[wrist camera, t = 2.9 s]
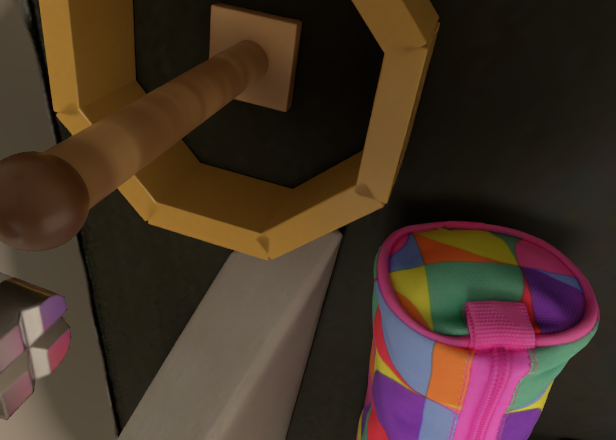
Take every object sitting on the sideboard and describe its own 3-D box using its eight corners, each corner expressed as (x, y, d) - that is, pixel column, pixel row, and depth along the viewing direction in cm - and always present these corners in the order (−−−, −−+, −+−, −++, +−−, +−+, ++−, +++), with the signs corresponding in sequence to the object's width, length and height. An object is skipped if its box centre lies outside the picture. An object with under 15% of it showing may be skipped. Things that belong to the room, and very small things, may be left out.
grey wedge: (156, 184, 23) (49, 511, 29) (260, 254, 20) (119, 597, 26) (323, 179, 36) (225, 406, 42) (399, 222, 33) (284, 457, 39)
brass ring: (95, -175, 22) (12, -190, 18) (476, -111, 19) (470, -114, 15) (118, 161, 30) (64, 198, 26) (382, 238, 27) (364, 291, 24)
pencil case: (501, 503, 35) (502, 667, 27) (360, 464, 37) (325, 606, 30) (592, 217, 23) (635, 366, 16) (380, 188, 26) (332, 306, 18)
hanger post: (218, 1, 24) (-101, 121, 11) (303, 20, 23) (65, 172, 10) (214, 87, 26) (-55, 269, 13) (291, 107, 25) (84, 318, 13)
